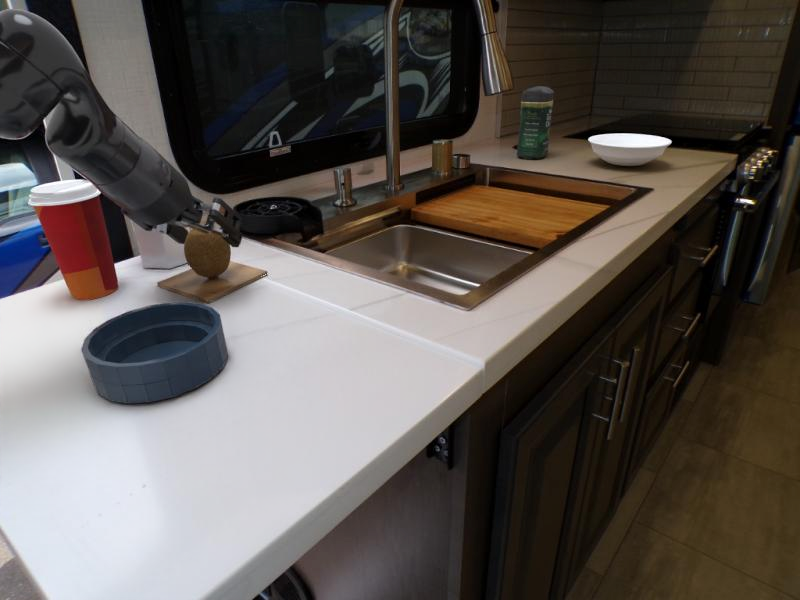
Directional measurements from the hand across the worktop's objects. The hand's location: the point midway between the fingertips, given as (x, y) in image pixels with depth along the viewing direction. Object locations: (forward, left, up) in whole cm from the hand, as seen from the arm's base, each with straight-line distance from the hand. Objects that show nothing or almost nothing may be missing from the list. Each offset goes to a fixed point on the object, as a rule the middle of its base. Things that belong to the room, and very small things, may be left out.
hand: (211, 239), depth 75 cm
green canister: (+10, +103, -6) cm, 103 cm away
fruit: (+1, -1, -5) cm, 6 cm away
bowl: (+35, +103, -6) cm, 109 cm away
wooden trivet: (0, -1, -6) cm, 6 cm away
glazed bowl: (+14, -19, -6) cm, 25 cm away
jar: (-13, +1, -6) cm, 14 cm away
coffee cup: (-12, -12, -6) cm, 18 cm away
